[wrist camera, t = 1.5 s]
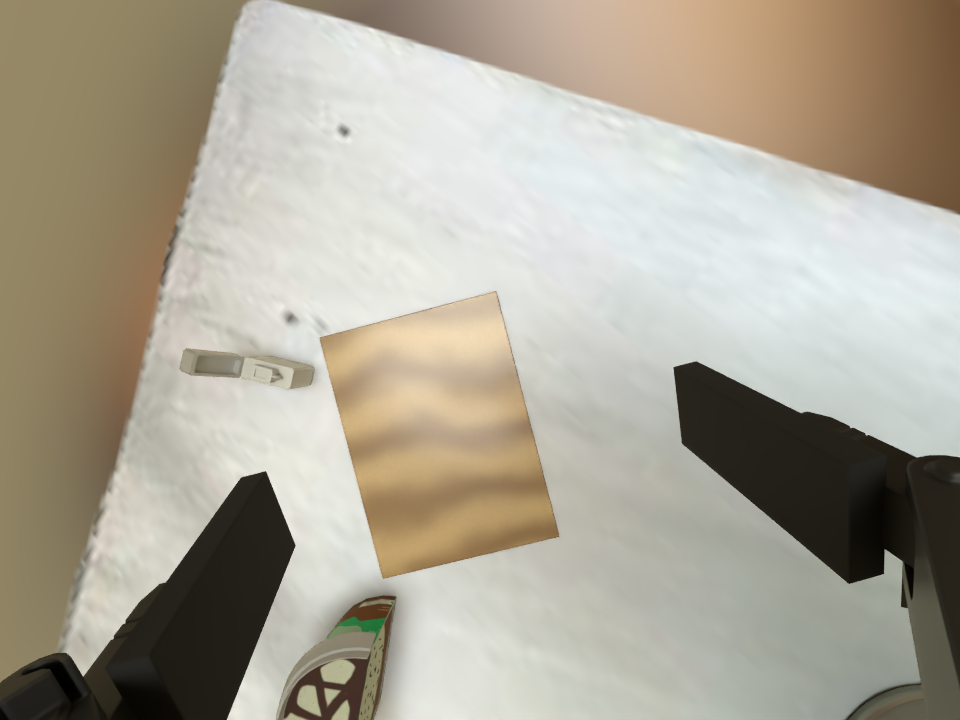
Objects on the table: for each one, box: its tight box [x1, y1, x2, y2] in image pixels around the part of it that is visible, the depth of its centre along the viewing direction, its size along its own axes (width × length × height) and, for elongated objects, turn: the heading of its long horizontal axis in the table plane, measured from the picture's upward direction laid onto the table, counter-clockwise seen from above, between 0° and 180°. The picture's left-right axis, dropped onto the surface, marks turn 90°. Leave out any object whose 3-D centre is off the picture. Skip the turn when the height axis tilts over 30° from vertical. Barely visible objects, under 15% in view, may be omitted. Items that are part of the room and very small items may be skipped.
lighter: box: [180, 348, 314, 390], centre depth 39 cm, size 7×2×8 cm, turn 76°
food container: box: [276, 596, 396, 720], centre depth 38 cm, size 12×6×10 cm, turn 171°
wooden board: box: [320, 291, 559, 579], centre depth 42 cm, size 22×16×1 cm
